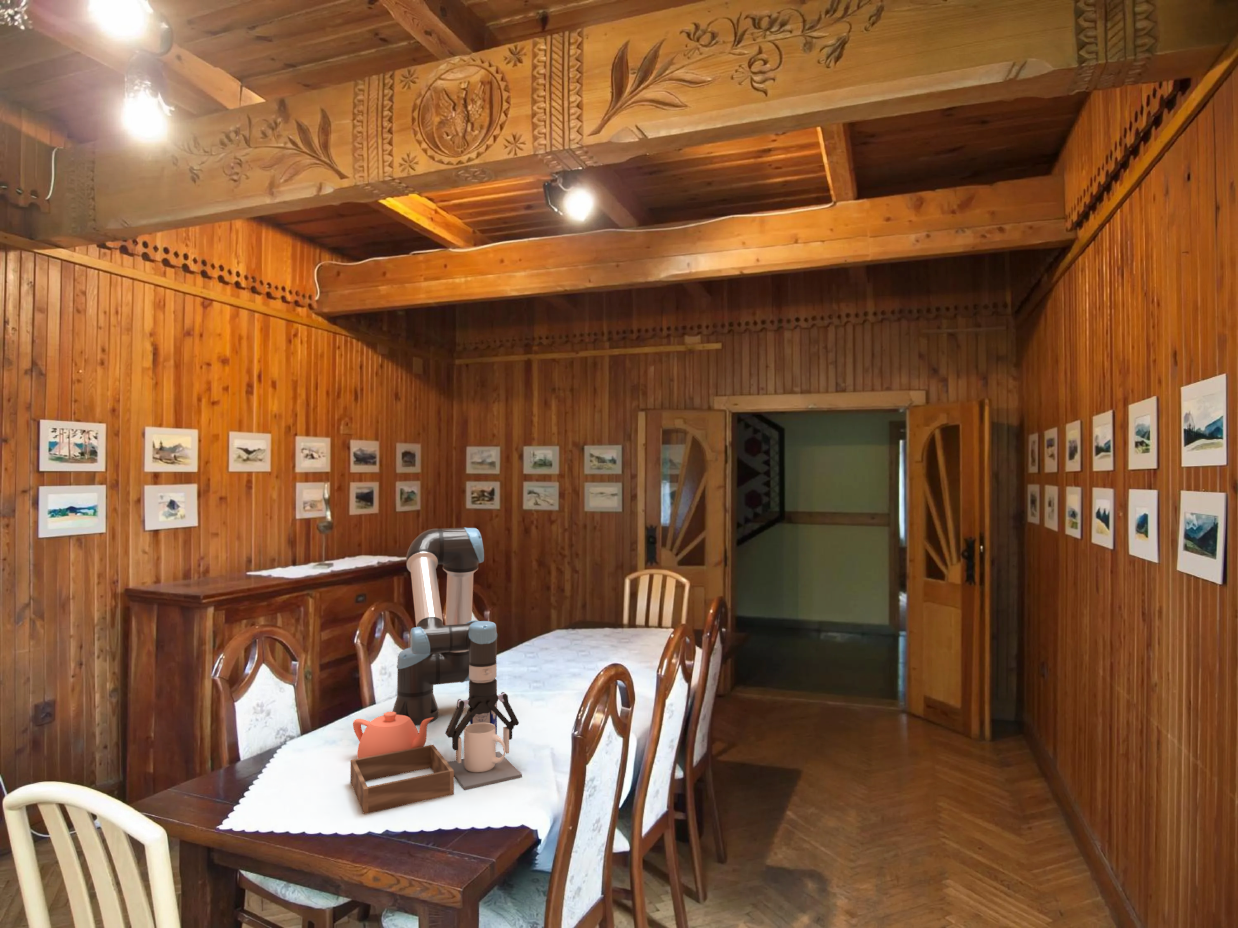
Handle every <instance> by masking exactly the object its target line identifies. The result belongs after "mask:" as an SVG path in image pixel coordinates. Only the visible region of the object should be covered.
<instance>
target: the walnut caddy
mask: <svg viewBox="0 0 1238 928" xmlns="http://www.w3.org/2000/svg"><path fill="white" fill-rule="evenodd" d="M447 762H448V761H447V760H446V758H445V757H444V756H443V754H441V752H440V751H439V750H438V748H437V747H436V746H435V745H434V744H430V745H424V746H423V747H418V748H412V749H407V750H402V751H396V752H391V753H385V754H380V755H375V756H369V757H364V758H359V759H358V758H354V759H351V760H350V774H349V775H350V783H349V784H350V785H351V787H352V790H353V792H354V794H355V797H356V799H357V801H358V803H359V806H360V808H361V809H360V810H361V811H362V813H363V815H367V814H370V813H375V812H381V811H385V810H389V809H393V808H398V807H402V806H407V805H412V804H416V803H421V802H425V801H429V800H433V799H437V798H443V797H447V796H451V795H454V793H455V778H454V770H453V769H452V768H451V766H450V765H449V764H448V763H447ZM428 769H430V770H431V771H432V772H433V773H428V774H422V775H418V776H414V777H408V778H404V779H399V780H394V781H389V782H384V783H380V784H375V785H374V784H373V785H367V783H366V782H368V781H374V780H378V779H379V780H380V779H383V778H389V777H393V776H398V775H403V774H408V773H412V772H413V773H415V772H417V771H423V770H428Z"/></svg>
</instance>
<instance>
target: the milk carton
mask: <svg viewBox="0 0 1238 928" xmlns="http://www.w3.org/2000/svg"><path fill="white" fill-rule="evenodd" d="M496 694H497V695H498V691H497V692H496ZM495 707H496V708H497V709H498V702H497V703H496V704H495ZM474 723H491V724H493V725H495V727H496V735H498V716H497V715H496V714H495V713H494V712H493V711H490V712H489V713H483V714H480V715H478V714H476V715H475V716H474V717H473V718H472V719H471V721H470V722H469V725H470V724H474Z"/></svg>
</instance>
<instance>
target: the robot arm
mask: <svg viewBox="0 0 1238 928" xmlns="http://www.w3.org/2000/svg"><path fill="white" fill-rule="evenodd" d="M405 559H406V569H407V570H408V572H410V578H411V589H412V598H413V608H414V618H415V626H416V627H412V628H411V629H410V632H409V633H410V635H409V642H410V644H409V645H410V647H407V648H405V649H403V650H401V651H400V652H399V653H398V655H397V664H396V669H397V672H396V673H397V685H396V690H397V691H396V693H397V695H396V699H395V702H394V705H393V708H392V710H391V712H396V715H404V716H408V717H409V718H410V719H411V720H412V721H413V723H414V725H415V726H418V725H421V723H422V721H423V720H425V719H427V718H432V717H434V718H433V719H432V720H431V721H430V722H429V723H431V722H434V721H435V720H437V718H439V715H440V714H439V707H438V704H437V700H436V697H435V695H434V686H435V685H436V686H437V685H445V684H446V685H447V684H456V683H457V684H458V683H465V682H468V699H462V698H458V699H457V700H456V701H457V702H456V708H455V710H454V712H453V715H452V717H451V719H450V721H449V723H448V725H447V727H446V730H445V732H444V734H445V735H446V737H448V738H449V739H451V738H452V740H451V741H452V742H451V747H452V750H453V751H455V760H456V761H457V762H458V763H461V759H462V737H461V735H462V733H464V729H465V728H466V726H468V725H469V724H470V721H471V719H472V718H473V717H474V716H475V715H476V714H478V715H480V714H483V713H489V712H490V711H493V712H494V713H495V714H496V715H497V718H499V720H500V721H501V722H502V723H503V724H504V725H505V726H503V729H502V732H503V733H502V735H503V737H502V738H503V739H502V740H503V742H504V744H505V754H509V753H510V740H511V741H512V739H513V730H514V729H515V726H518V725H519V724H520V723H519V719H518V718H517V715H516V714H515V712H514V710H513V708H512V706H511V703H510V702H509V697H508V696H509V695H508V694H507V693H506V692H504V691H501V692H500V694H498V679H496V678H497V670H498V669H497V664H498V663H497V658H498V657H497V654H498V653H497V650H498V649H497V648H498V647H497V642H498V641H497V640H498V633H497V624H496V623H495V622H493V621H489V620H481V621H480V620H474V619H472V617H473V597H474V596H473V594H474V591H473V590H474V573H475V572H476V571H478V570H479V564H481V563H484V561H485V550H484V543H483V538H482V534H481V532H480V530H479V529H477V528H476V527H454V528H453V527H450V528H432V529H427V530H425V531H422V533H420V534H419V535H418V536H417V537H416V538H415V539H414V540H413V541H412V542H411V543H410V546H409V548H408V550H407V553H406V558H405ZM438 565H442V570H443V571H444V572H445V573H446V599H445V600H446V602H445V607H446V609H445V625H444V620H443V613H442V612H443V611H442V605H441V598H440V591H439V584H438V576H437V570H436V569H437V568H438ZM496 692H497V694H496ZM498 700H499V702H501V703H502V706H503V707H504V708H505V711H506V713H507V715H508V717H509V718H510V721H509V720H508V719H507V717H506V716H505V715H504V714H503V713H502V711H500V710H499V709H498V707H497V708H496V707H495V704H496V703H497V704H498ZM467 706H469V707H468V709H467V711H466V713H465V714H464V716H462V715H463V713H464V709H465V708H466V707H467ZM461 717H462V718H461ZM460 719H461V720H460ZM502 750H503V751H504V749H503V748H502Z"/></svg>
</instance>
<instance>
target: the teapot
mask: <svg viewBox="0 0 1238 928" xmlns="http://www.w3.org/2000/svg"><path fill="white" fill-rule="evenodd" d="M433 718H434V717H432V718H427V719H425V720H423V721H422V723H421V724H419V725H420V726H419V730H418V728H417V726H416V725H414V723H413V721H412V720H411V719H410V718H409V717H408V716H404V715H396V712H392V711H386V712H384V713H383V715H380V716H378V717H375V718H373V719H372V720H371V721H370V720H367V719H363V718H356V719H354V720H353V723H352V727H353V732H354V734H355V736H356V738H357V740H358V742H359V743H358V747H357V752H356V753H357V759H359V758H364V757H369V756H375V755H380V754H385V753H391V752H396V751H402V750H407V749H412V748H418V747H423V746H426V742H427V735H428V734H427V731H428V730H427V729H428V725H429V723H431V722H432V721H431V720H432V719H433ZM430 721H431V722H430ZM362 726H365V727H366V728H365V729H364V732H363V730H362Z"/></svg>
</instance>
